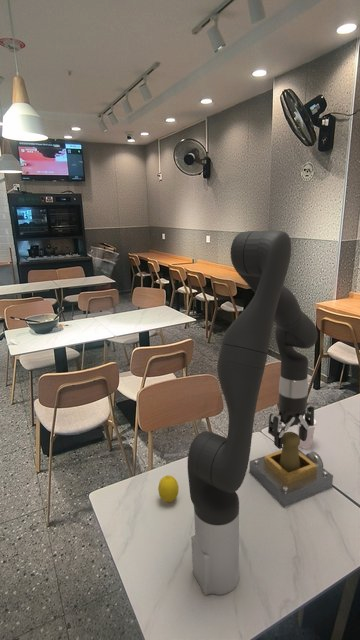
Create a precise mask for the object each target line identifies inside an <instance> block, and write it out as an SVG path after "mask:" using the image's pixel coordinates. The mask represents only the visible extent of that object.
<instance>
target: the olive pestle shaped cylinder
mask: <svg viewBox="0 0 360 640" xmlns="http://www.w3.org/2000/svg"><path fill="white" fill-rule="evenodd" d="M282 437H283V440H282V448H281V450H282V453H281V458H280V463H279V465H280V466H281V467H282V468H283V469H285V470H286V471H287V472H288V473H289V472H292V471H295V470H297V469H300V461H299V451H298V449H299V447H300V446H299V445H300V437H299V436H298V433H296V432H293V431H285V432H284V434H283V436H282Z"/></svg>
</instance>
